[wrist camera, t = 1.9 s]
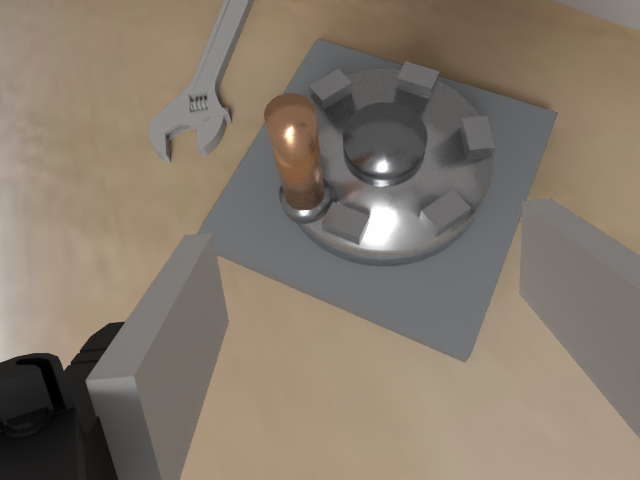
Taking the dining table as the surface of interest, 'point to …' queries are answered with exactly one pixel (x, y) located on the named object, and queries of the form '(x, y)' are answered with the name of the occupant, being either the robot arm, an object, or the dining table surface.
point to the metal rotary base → (381, 163)
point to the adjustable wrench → (203, 89)
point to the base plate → (390, 281)
